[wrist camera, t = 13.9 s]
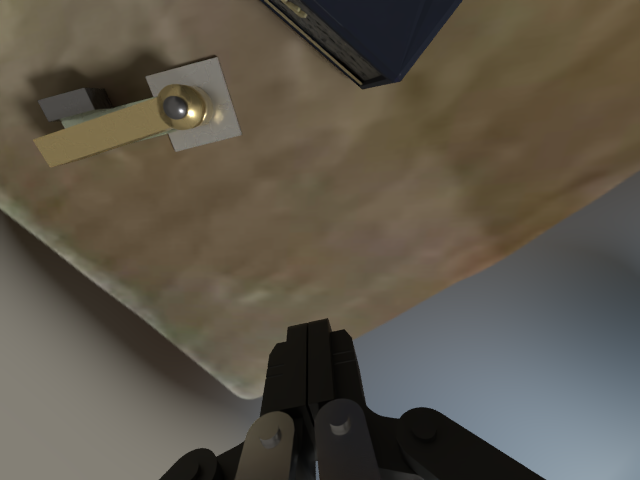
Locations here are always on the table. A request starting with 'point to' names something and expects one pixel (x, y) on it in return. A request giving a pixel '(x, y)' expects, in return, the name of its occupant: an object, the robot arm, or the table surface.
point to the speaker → (367, 33)
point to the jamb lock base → (216, 94)
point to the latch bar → (125, 126)
